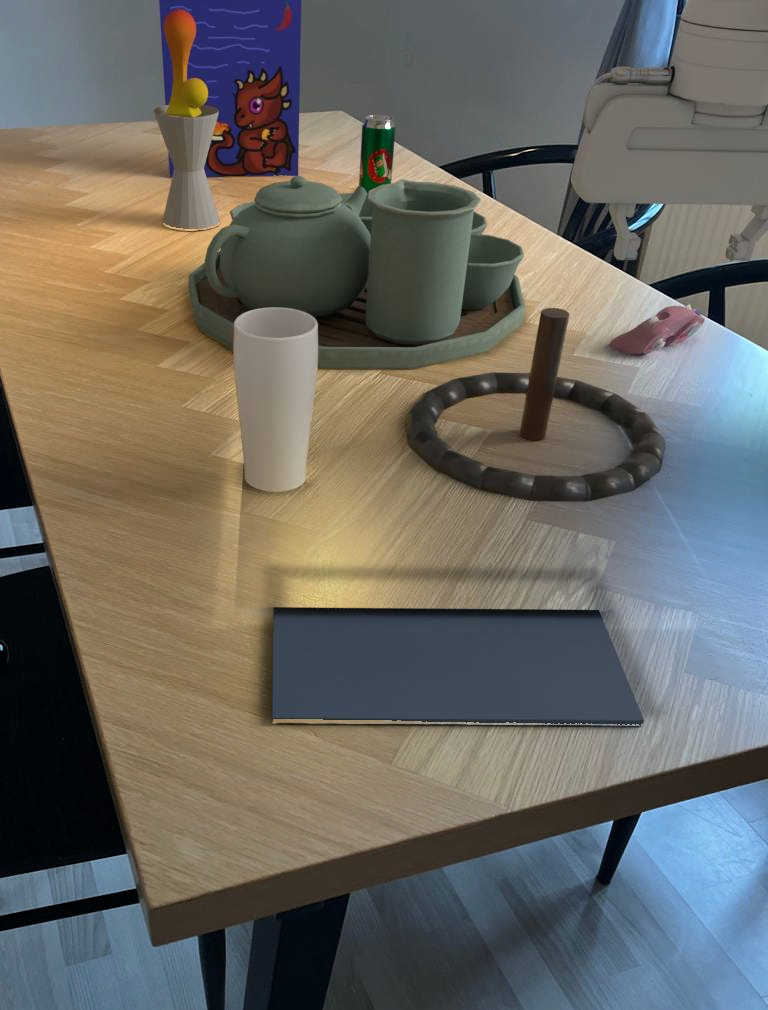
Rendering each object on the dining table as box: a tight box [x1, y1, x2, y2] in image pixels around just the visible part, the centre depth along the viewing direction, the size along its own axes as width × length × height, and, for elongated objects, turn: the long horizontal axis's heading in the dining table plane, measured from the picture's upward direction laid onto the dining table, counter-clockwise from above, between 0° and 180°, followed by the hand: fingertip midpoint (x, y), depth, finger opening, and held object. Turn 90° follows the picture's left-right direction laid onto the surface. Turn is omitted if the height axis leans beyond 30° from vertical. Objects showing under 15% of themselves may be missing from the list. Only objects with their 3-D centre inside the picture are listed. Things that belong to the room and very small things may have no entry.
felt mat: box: [271, 606, 645, 725], centre depth 69 cm, size 24×15×1 cm, turn 90°
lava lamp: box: [153, 9, 221, 229], centre depth 134 cm, size 9×9×35 cm
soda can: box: [358, 114, 396, 193], centre depth 151 cm, size 5×5×12 cm
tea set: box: [187, 175, 526, 371], centre depth 113 cm, size 40×40×16 cm
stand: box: [518, 307, 570, 443], centre depth 88 cm, size 8×8×13 cm
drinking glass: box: [232, 307, 319, 493], centre depth 81 cm, size 7×7×15 cm
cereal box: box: [158, 0, 302, 179], centre depth 158 cm, size 22×6×30 cm, turn 96°
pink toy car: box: [608, 303, 706, 356], centre depth 108 cm, size 10×5×7 cm, turn 126°
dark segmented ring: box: [403, 371, 667, 503], centre depth 91 cm, size 24×24×3 cm
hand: (680, 258), depth 81 cm, fingers open, 8 cm apart
